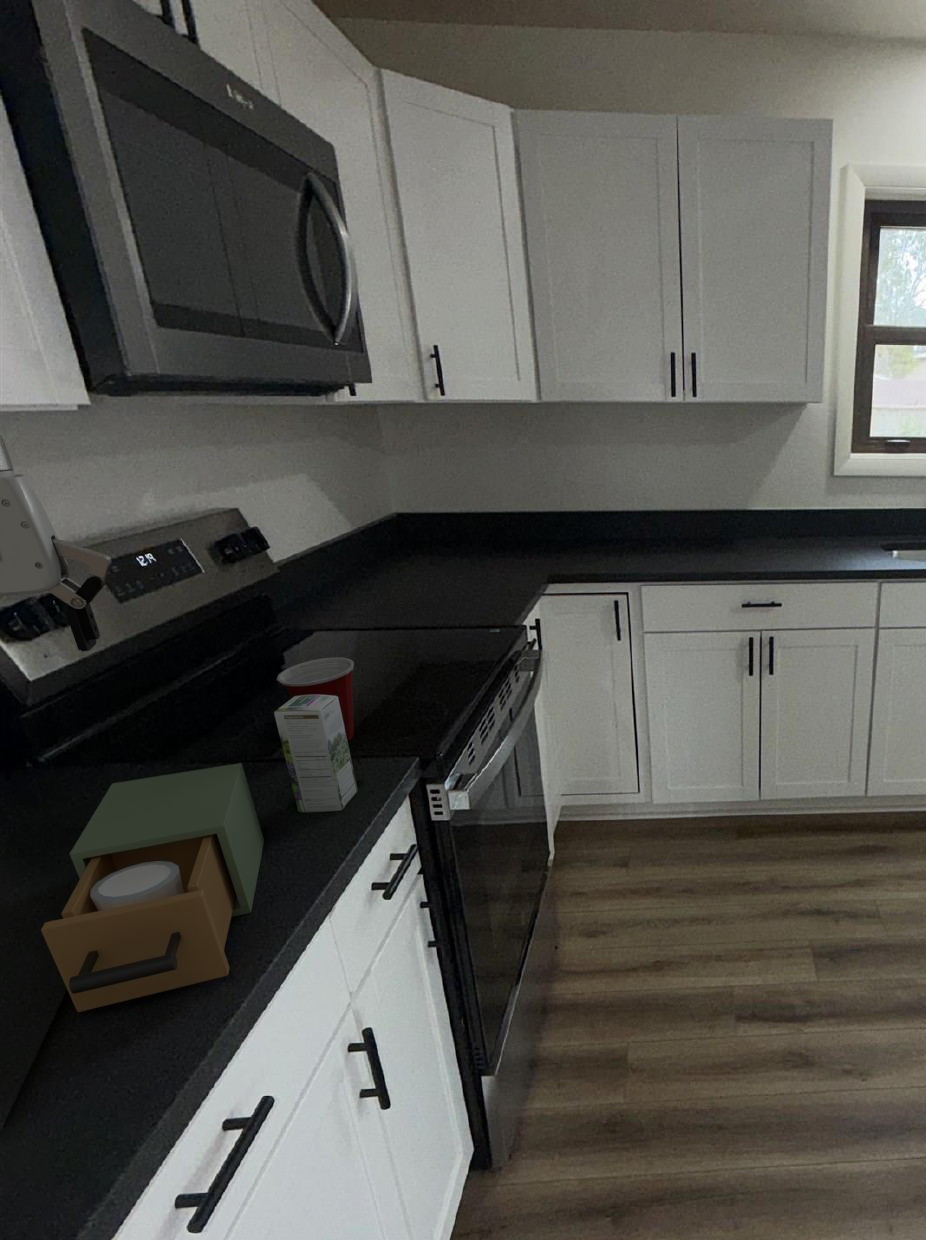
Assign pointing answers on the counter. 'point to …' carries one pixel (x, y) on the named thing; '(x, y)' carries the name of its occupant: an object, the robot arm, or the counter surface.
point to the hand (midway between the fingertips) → (25, 653)
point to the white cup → (137, 885)
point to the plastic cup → (323, 683)
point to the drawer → (145, 928)
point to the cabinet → (181, 821)
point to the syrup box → (316, 752)
